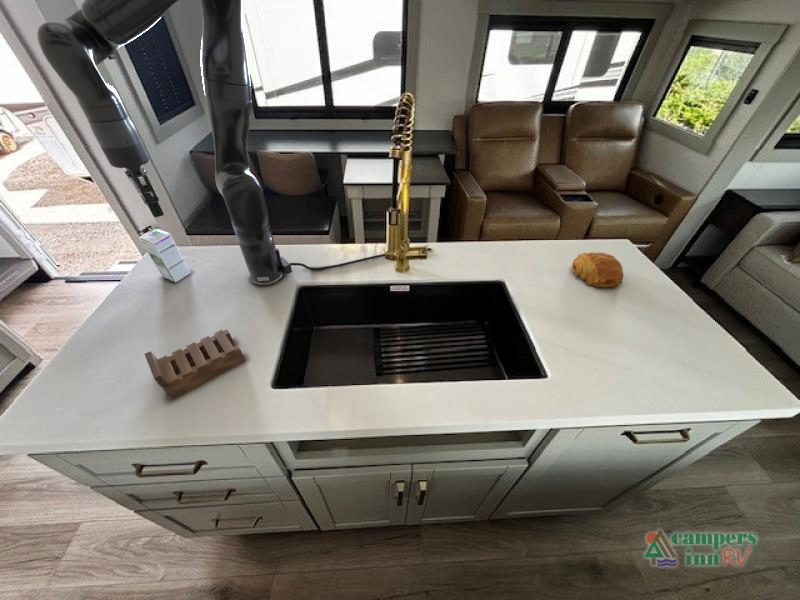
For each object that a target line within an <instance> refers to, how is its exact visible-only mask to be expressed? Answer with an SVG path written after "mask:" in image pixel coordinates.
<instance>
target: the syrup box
mask: <svg viewBox="0 0 800 600" xmlns="http://www.w3.org/2000/svg"><path fill="white" fill-rule="evenodd" d="M138 239H139V241H140V243H141V244H142V245H143V247H144V249H145V250H146V252H147V254H148V255H149V257H150V258H151V260H152V262H153V263H154V265H155V267H156V268H157V270H158V271H159V273H160V275H161V277H162V278H164V279H167V280H169V281H171V282H174V283H177V282H179V281H180V280H183V278H186V276H188V275H190V274H191V270H190V268H189V266H188V265H187V262H186V261H185V258H184V257H183V255H182V254H181V252H180V250H179V248H178V246H177V244H176V242H175V241H174V239H173V237H172V234H171V233H170V232H167V231H165V230H162V229H159V228H154V229H152V230H149V231H147V232H146V233H145V232H144V234H142V235H141V236H139V237H138Z"/></svg>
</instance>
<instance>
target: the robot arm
mask: <svg viewBox="0 0 800 600" xmlns="http://www.w3.org/2000/svg"><path fill="white" fill-rule="evenodd" d="M179 1H180V0H83V1H82V2H81V6H80V9H77V10H76V11H75V12H74V13H72V14H71V15H69V16H67V17H65V18H63V19H62V20H55V21H54V20H53V21H46V22H44V23H42V24H40V25H39V26H38V28H37V33H36V37H37V42H38V45H39V47H40V49H41V52H42V54H43V56H44V57H45V60H46V61H47V62H48V64H49V66H51V68H52V69H53V71H54V72H55V73H56V75H57V76H58V77H59V78H60V80H61V81H62V82H63V84H64V85H65V86H66V87H67V89H68V90H69V91H70V92H71V93H72V94H73V96H74V97H75V99H76V101H77V103H78V105H79V107H80V109H81V111H82V113H83V114H84V116H85V118H86V120H87V122H88V125H89V126H90V129H91V131H92V133H93V134H92V135H94V137H95V139H96V141H97V144H98V145H99V147H100V148H101V150H102V152H103V154H104V156H105V157H106V159H107V161H108V163H109V164H110V166H111V167H114V168H117V169H125V171H124V175H125V176H126V178H127V179H128V181H129V182H130V184H131V186H133V187H134V189H135V191H136V193H137V194H138V195H139V196H140V197H141V199H142V201H143V203H144V205H146V206H147V207H148V209H149V211H150V213H151V215H152V216H153V217H154V218H159V217H163V216H164V215H165V212H163V209H162V207H161V204H159V201H160V199H159V197H158V196H157V194H156V191H155V190H156V189H155V187H154V185H153V183H152V180H150V174H149V173H148V171H147V170H146V169H145V168H144V167H141V166H143V165H146V164H148V163H149V162H150V157H149V155H148V152H147V150H146V148H145V146H144V144H143V142H142V140H141V138H140V137H141V136H140V135H139V133H138V131H137V128H136V127H135V125H134V123H133V122H132V120H131V119H130V117H129V115H128V112H127V110H126V108H125V106H124V104H123V102H122V100H121V97H120V96H119V94H118V92H117V91H116V89H115V88H114V87H113V86H111V85H109V84H107V83H106V81H105V80H104V78H103V77H102V75H101V73H100V71H99V70H98V68H97V66H98V65H99V64H101V63H103V62H104V61H105V60H106V59H108V58H109V57H110V56H111V55H113V54H114V53H115V52H116V51H117V50H118V49H119V48H120V47H121V46H122V47H123V46H124V45H126V44H128V43H131V41H133V40H135V39H137V37H139V36H141V35H142V34H143V33H145V32H146V31H148V30H149V29H150V28H152V27H153V26H154V25H155V24H156V23H157V22H158V21H159V20H161V18H163V16H164V15H165V14H166V13H167V12H168V11H169V10H170V9H171V8H172V7H173V6H174V5H175V4H176V3H178V2H179ZM200 5H201V14H202V29H201V30H202V31H201V46H200V48H201V49H200V67H201V68H200V69H201V76H202V84H203V92H204V99H205V103H206V110H207V114H208V119H209V126H210V130H211V133H212V138H213V147H214V170H215V171H214V172H215V173H214V174H215V175H214V177H215V179H214V181H215V185H216V188H217V190H218V192H219V194H220V195H221V196H222V198H223V200H224V202H225V206H226V208H227V211H228V214H229V217H230V219H231V226H232V229H233V231H234V234H235V237H236V240H237V243H238V246H239V248H240V251H241V254H242V257H243V259H244V262H245V265H246V268H247V271H248V273H249V277H250V280H251V282H252V283H253V284H255V285H256V286H262V287H263V286H270V285H273V284H276V283H278V282H279V281H280V280H281V279H282V278H283V277H284V276H287V275H289V274H291V273H293V268H292V266H298V267H303V268H305V269H307V270H311V271H322V270H328V269H334V268H340V267H343V266H344V267H345V266H348V265H352V264H356V263H360V262H361V263H362V262H365V261H370V260H373V259H377V258H378V259H379V258H383V257H386V256H385V254H386V253H381V254H377V255H372V256H368V257H363V258H360V259H356V260H350V261H346V262H342V263H338V264H333V265H331V264H330V265H326V266H319V267H313V266H308V265H307V264H305V263H301V262H289V261H288V260H287V259H286V258H285V257H283V256H281V254H280V253H281V252H280V249H278V247H277V246H276V244H275V241H274V237H273V233H272V229H271V225H270V221H269V216H270V215H269V211H268V207H267V203H266V199H265V194H264V190H263V188H262V185H261V183H260V181H259V180H258V179H257V177H255V176H254V175H253V173H252V171H251V166H250V160H249V154H248V153H249V152H248V137H249V132H250V127H251V123H252V113H253V99H252V87H251V86H252V85H251V84H252V83H251V76H250V66H249V65H250V64H249V57H248V52H247V50H248V49H247V45H246V44H247V43H246V39H245V30H244V21H243V19H244V17H243V0H200ZM426 248H427V251H429V252H430V251H432V248H431V247H430V248H429V247H426ZM427 251H426V252H427Z"/></svg>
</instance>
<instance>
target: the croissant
mask: <svg viewBox="0 0 800 600" xmlns="http://www.w3.org/2000/svg"><path fill="white" fill-rule="evenodd" d="M571 268H572V272H573V273H574V275H576V276H577V277H578V278H580V279H581V280H583V281H584V282H585V284H587V285H589V286H593V287H597V288H613V287H617V286H619V285H621V284H622V283H623V279H624V268H623V265H622V264H621V262H620V261H619V260H618V259H617V258H616V257H615V256H614V255H612V254H609V253H606V252H599V251H598V252H593V251H590V252H583V253H579V254H578V255H577V256H576V257H575V258H574V259H573V261H572V265H571ZM593 284H594V285H593ZM618 284H619V285H618Z"/></svg>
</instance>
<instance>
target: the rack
mask: <svg viewBox="0 0 800 600" xmlns="http://www.w3.org/2000/svg"><path fill="white" fill-rule="evenodd" d="M144 356H145V359H146V362H147V365H148V367H149V369H150V372H151V374H152V376H153V379H154V381H155V382H156V383H157V384H158V385H159V386H160V387H161V389H162V390H163V391H164V392H165V393H166V394H167V396H168V397H169V399H171V400H174V399H175V398H178V397H180V396H181V395H183V394H186V393H187V392H189V391H191V390H193V389H195V388H196V387H199V386H200V385H202V384H204V383H206V382H208V381H210V380H211V379H213V378H215V377H217V376H220V375H221V374H223V373H224V372H228V370H230V369H232V368H234V367H236V366H238V365H240V364H241V363H244V362H245V361H246V358H245V356H244V354H243V352H242V350H241V348H240V346H239V344H236V343H235V341H234V339H233V337H232V335H231V333H230V331H229V329H227V328H225V330H223V329H220V330H218V331H216V332H213V335H211V336H210V335H207V336H205V337H203V338H200V340H199V342H196V341H195V342H192V343H190V344H188V345H186V347H185V348H184V349H182V348H179V349H177V350H175V351H173V352H171V355H164V356H162V357H160V358H157V357H156V355H155V354H154V353H153V352H152V351H151V350H150V351H148V352H146V353H144Z"/></svg>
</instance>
